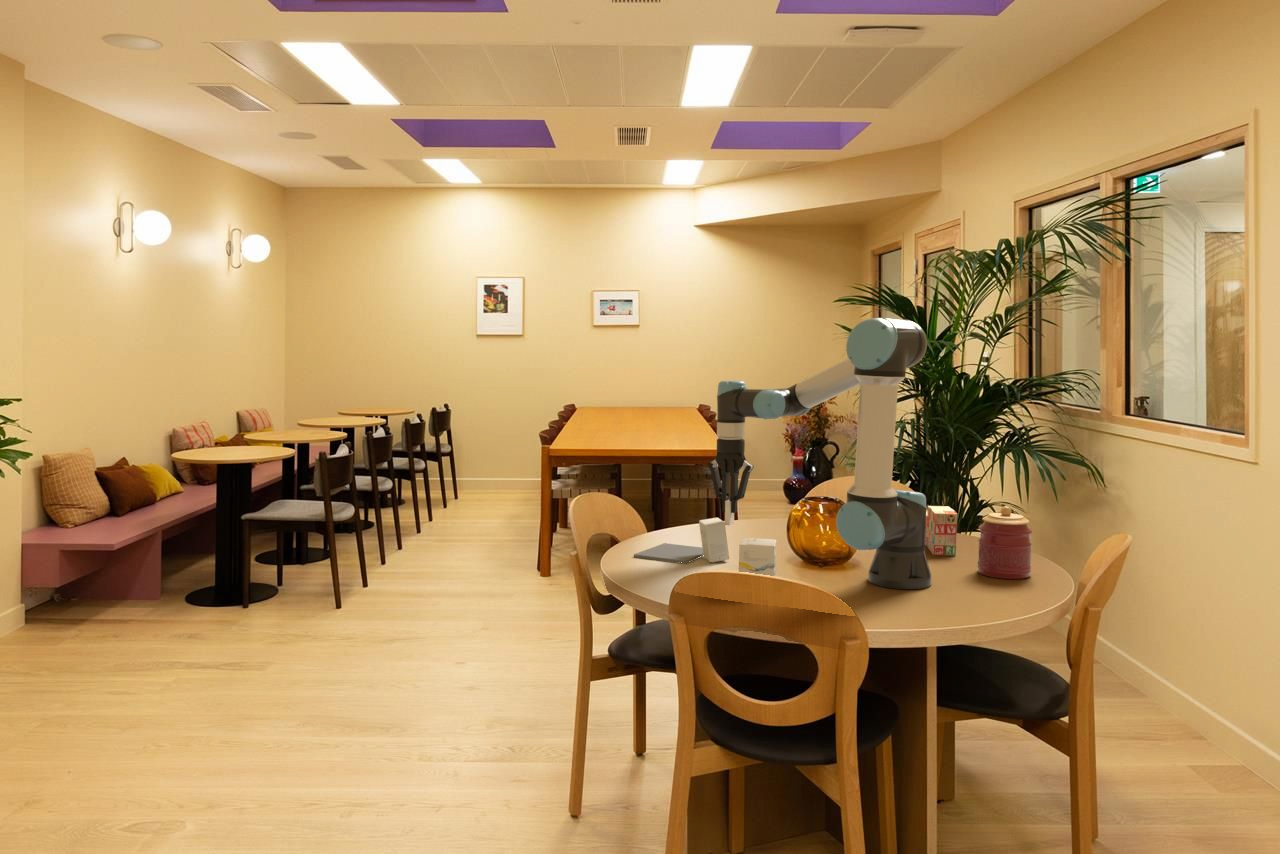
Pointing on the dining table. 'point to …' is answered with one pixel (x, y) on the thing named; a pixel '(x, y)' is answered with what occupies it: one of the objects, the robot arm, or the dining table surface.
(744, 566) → the ink box
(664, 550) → the mat
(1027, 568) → the canister
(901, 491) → the robot arm
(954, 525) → the stack of blocks
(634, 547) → the dining table surface
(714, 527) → the small box
